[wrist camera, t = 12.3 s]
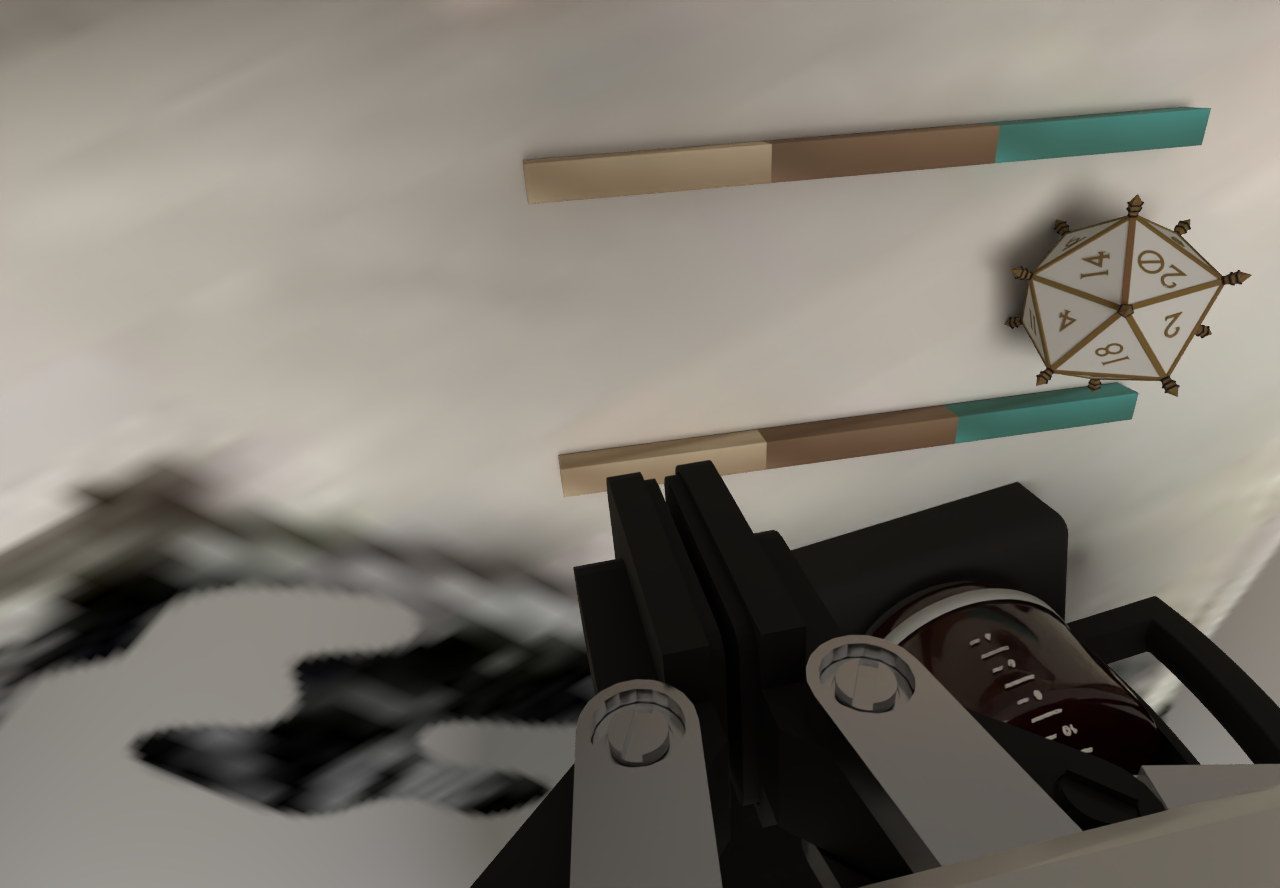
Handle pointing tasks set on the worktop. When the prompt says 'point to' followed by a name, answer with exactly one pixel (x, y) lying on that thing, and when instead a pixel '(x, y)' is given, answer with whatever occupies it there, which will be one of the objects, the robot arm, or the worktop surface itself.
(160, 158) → the worktop surface
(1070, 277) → the game die
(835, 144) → the pair of wooden rods
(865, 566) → the coffee maker
